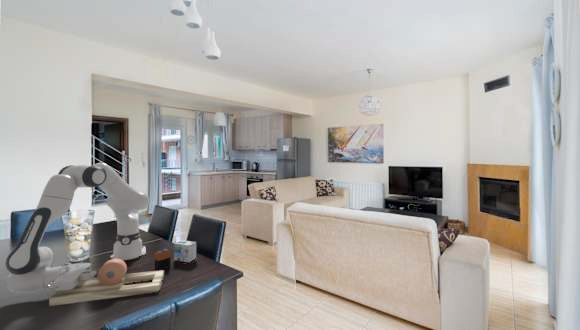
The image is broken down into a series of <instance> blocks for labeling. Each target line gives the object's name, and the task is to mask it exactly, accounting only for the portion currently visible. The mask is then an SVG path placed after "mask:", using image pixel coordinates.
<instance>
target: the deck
mask: <svg viewBox="0 0 580 330" xmlns="http://www.w3.org/2000/svg"><path fill="white" fill-rule="evenodd" d="M163 277H164V278H165V269H164V270H159V271H158V270H151V271H141V272H132V273H125V275H124V276H123V278H122V279H121V281H120V282H118V283H117V284H115V285H112V286H105V285H103V284H101V283H100V282H99V281H98V278H97V276H96V277H95V276H94V277H91V278H87V279H84V280H81V281H80V282H79V283H78V284H77V285H76V286H75V287H74V288H73V289H71V290H63V291H55V293H54V294H53V295H52V296H51V297H50V298H49V299H48V300H49V302H48V305H49V307H53V306H61V305H69V304H76V303H83V302H91V301H98V300H109V299H114V298H123V297H129V296H136V295H137V296H138V295H145V293H146V294H152V293H153V292H154V293H159V292H160V291H159V290H161V287H162V283H163V281H164V278H163ZM149 280H152V282H151V281H149ZM162 280H163V281H162ZM141 281H143V282H141ZM133 282H135V283H136V284H134V283H133ZM158 291H159V292H158ZM154 293H153V294H154Z"/></svg>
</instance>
